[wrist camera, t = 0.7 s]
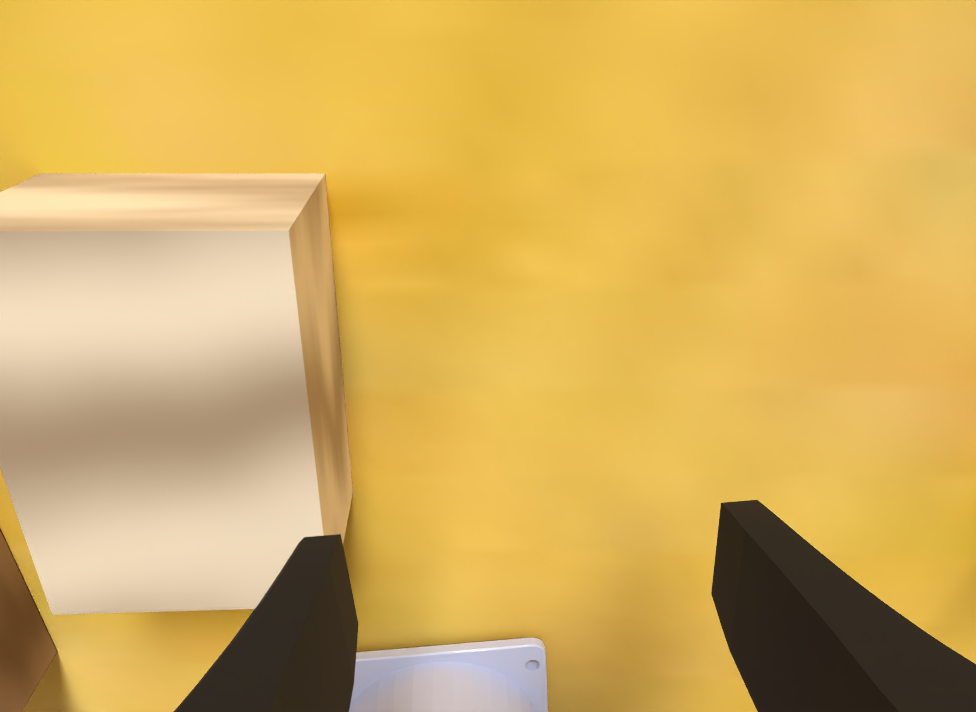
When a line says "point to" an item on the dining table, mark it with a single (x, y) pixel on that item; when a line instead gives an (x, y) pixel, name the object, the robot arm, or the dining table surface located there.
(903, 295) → the dining table surface
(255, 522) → the maple block
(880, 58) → the dining table surface
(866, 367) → the dining table surface
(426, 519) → the dining table surface
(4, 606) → the walnut board
